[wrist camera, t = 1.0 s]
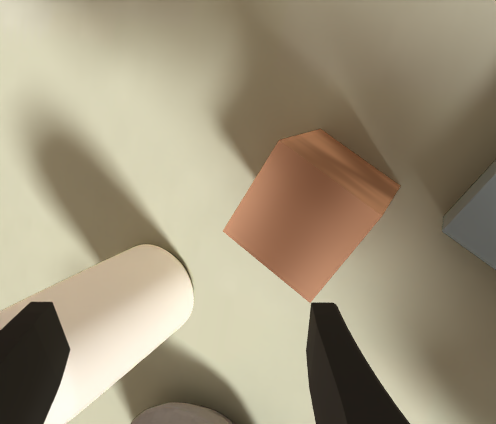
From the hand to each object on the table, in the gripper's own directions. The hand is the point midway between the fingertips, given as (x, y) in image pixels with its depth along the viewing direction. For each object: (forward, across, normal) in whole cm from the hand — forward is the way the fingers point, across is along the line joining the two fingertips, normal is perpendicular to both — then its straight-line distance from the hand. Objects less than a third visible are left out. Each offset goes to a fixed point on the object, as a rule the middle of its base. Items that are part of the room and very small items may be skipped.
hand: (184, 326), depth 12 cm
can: (+14, +5, +12) cm, 19 cm away
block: (+11, -6, +3) cm, 13 cm away
